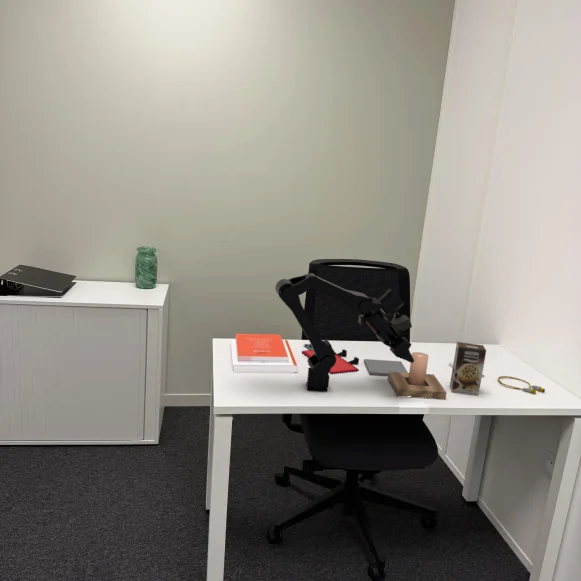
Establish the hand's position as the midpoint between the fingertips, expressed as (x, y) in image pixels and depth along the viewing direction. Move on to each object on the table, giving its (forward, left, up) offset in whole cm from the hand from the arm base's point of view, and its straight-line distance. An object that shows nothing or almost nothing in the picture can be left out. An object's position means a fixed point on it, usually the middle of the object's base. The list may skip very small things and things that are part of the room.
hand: (407, 357), depth 205 cm
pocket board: (+4, +1, -11) cm, 12 cm away
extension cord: (+43, +10, -12) cm, 46 cm away
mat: (-3, +18, -11) cm, 21 cm away
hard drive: (+28, +22, -12) cm, 37 cm away
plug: (+4, +1, -11) cm, 12 cm away
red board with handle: (-23, +26, -12) cm, 36 cm away
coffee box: (+21, +2, -11) cm, 24 cm away
